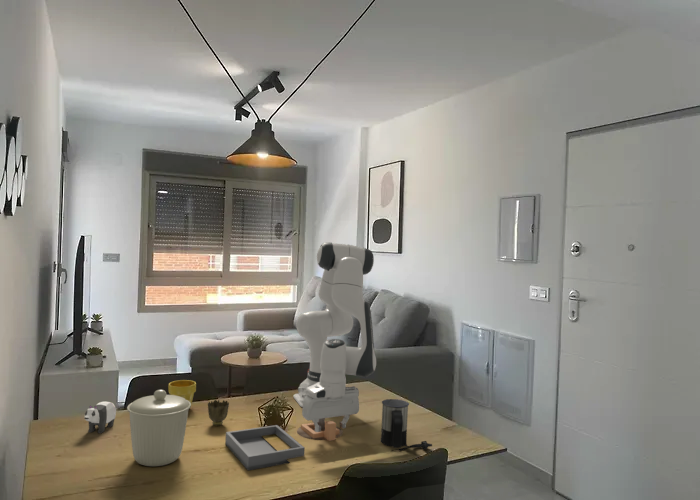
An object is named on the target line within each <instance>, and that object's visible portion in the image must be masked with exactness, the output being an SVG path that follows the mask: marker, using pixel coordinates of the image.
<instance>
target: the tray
mask: <svg viewBox="0 0 700 500" xmlns="http://www.w3.org/2000/svg"><path fill="white" fill-rule="evenodd" d="M271 435H276V436H277V437H278V438H279V439H281V440H282V441H283V443H286V445H288V446H289V448H287V449H280V450H277V449H276V448H275V447H274V446H273V445H272V444H271V443H270V442H269V441H268V440H266V438H264V437H263V436H271ZM225 446H226V447H227V448H228V450H230V452H231V453H232V454H233V455H234V456H235V457H236V458H237V460H238V461H239V462H240V463H241V464H242V466H243V467H244V468H245V469H246V470H247V471H252V470H258V469H265V468H269V467H270V468H271V467H276V466H281V465H287V464H291V462H290V461H289V460H288V459H294V458H299V457H300V458H301V457H304V456H305V446H303V445H302V444H301V443H300V442H299V441H297V440H296V439H295V438H294V437H293V436H292V435H290V434H289V433H288V432H286V430H284V429H283V428H282V427H280V426H279V425H278V424H275V425H268V426H260V427H252V428H245V429H239V430H231V431H226V432H225Z"/></svg>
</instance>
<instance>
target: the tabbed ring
mask: <svg viewBox="0 0 700 500" xmlns="http://www.w3.org/2000/svg"><path fill="white" fill-rule="evenodd" d="M300 427H301V429H302V430H303V431H304V432H306V433H307V434H308V435H310V436H311V437H312V438H319V437H324V438H326V439H327V440H326V441H328V442H329V441H330V442H331V441H336V439H337V438H336V435H338V434H339V433H340V430H339V429H337V428H336V427H337V422H335V421H333V420H325V426H324V427H325V431H321V432H315V431H314V430H312V429H314V428H315V425H314V423H313V422H310V423H309V422H308V423H302V424H300Z"/></svg>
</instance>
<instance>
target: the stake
mask: <svg viewBox="0 0 700 500" xmlns="http://www.w3.org/2000/svg"><path fill="white" fill-rule="evenodd" d="M325 421H326V418H323V419H319V422H317V423H318V425H320V426H321V431H325V427H324V426H325ZM336 428H337V429H339V430H340V433H339V434H338V435H336V438H335V439H338V438H340V437H341V436H342V435H343V434H344V432H343V430H342V428H340V427H339V426H336ZM312 430H314V431H315V428H314V429H312ZM315 432H316V431H315ZM296 434H297V435H298V436H300V437H301V438H304V439H308V440H314V441H328V440H327V439H326V438H324V437H319V438H312V437H311V436H310V435H308V434H307V433H306V432H304V431H303V430H302V429H301V426H299V427H298V428H297V430H296Z"/></svg>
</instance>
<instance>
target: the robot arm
mask: <svg viewBox="0 0 700 500" xmlns="http://www.w3.org/2000/svg"><path fill="white" fill-rule="evenodd" d="M374 261H375V260H374V254H373V251H372V250H370V249H368V248H366V247H360V246H357V245H353V244H346V243H335V242H334V243H333V242H331V241H330V242H323V243H322V244H320V246H319V248H318V250H317V253H316V262H317V265H318V266H319V267H320V268H321V269H323V273H322V277H321V281H320V285H319V290H318V297H319V299H320V300H321V302H322V303H323V304H325V305H326V306H325V309H323V310H310V311H307V312H303V313H300V314H299V316H298V317H297V319H296V322H295V327H296V331H297V333H298V334H299V336H301V338H303V339H304V341H305V342H306V343H307V346H308V350H309V368H308V369H307V376H306V379H304V380H303V381H302V382H301V383H300V384H299V386H298V388H297V393H295V394H293V399H294V400H295V401H296V403H298V405H299V407H302V409H301V410H302V412H301V413H302V414H301V415H302V417H303V418H304V419H305V420H307V421H312V423H314V425H315V431H316V432H321V426H320V425H318V423H317V422H319V419H323V418H325V419H329V418H336V417H343V419H342V420H341V421H339V428H340V429H346V428H347V423H348V421H349V419H350V416H351V415H357V414H358V413H359V411H360V401H359V400H360V399H359V395H360V390H359V388H358V387H356V386H354V385H353V386H347V379H346V375H351V376H356V377H360V378H368V377H369V376H371V375H372V374H374V372H376V368H377V367H376V366H377V357H376V353H375V343H374V332H373V320H372V311H371V307H370V304H369V302H367V300H366V301H365V298H364V295H363V287H364V276H365V275H368V274H369V273H370V272H371V271H372V269H373V267H374V263H375V262H374ZM353 317H354V318H355V319H356V320H358V322H359V325H360V338H361V346H348V345H347V344H346V342H345V341H344V340H343V339H339V338H331V337H340V336H343V335H347V334H349V333H351V332H352V330H353V327H354V318H353ZM328 338H331V339H328Z"/></svg>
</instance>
